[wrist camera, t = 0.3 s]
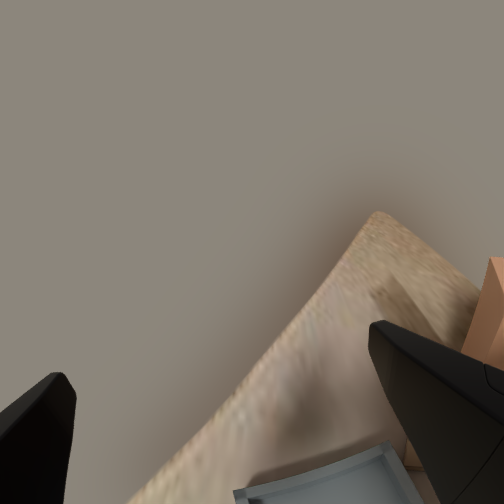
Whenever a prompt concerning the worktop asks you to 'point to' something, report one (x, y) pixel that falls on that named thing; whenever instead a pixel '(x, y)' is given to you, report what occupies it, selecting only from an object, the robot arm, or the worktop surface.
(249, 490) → the tray
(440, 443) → the robot arm
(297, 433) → the worktop surface
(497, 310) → the tan rectangular prism
